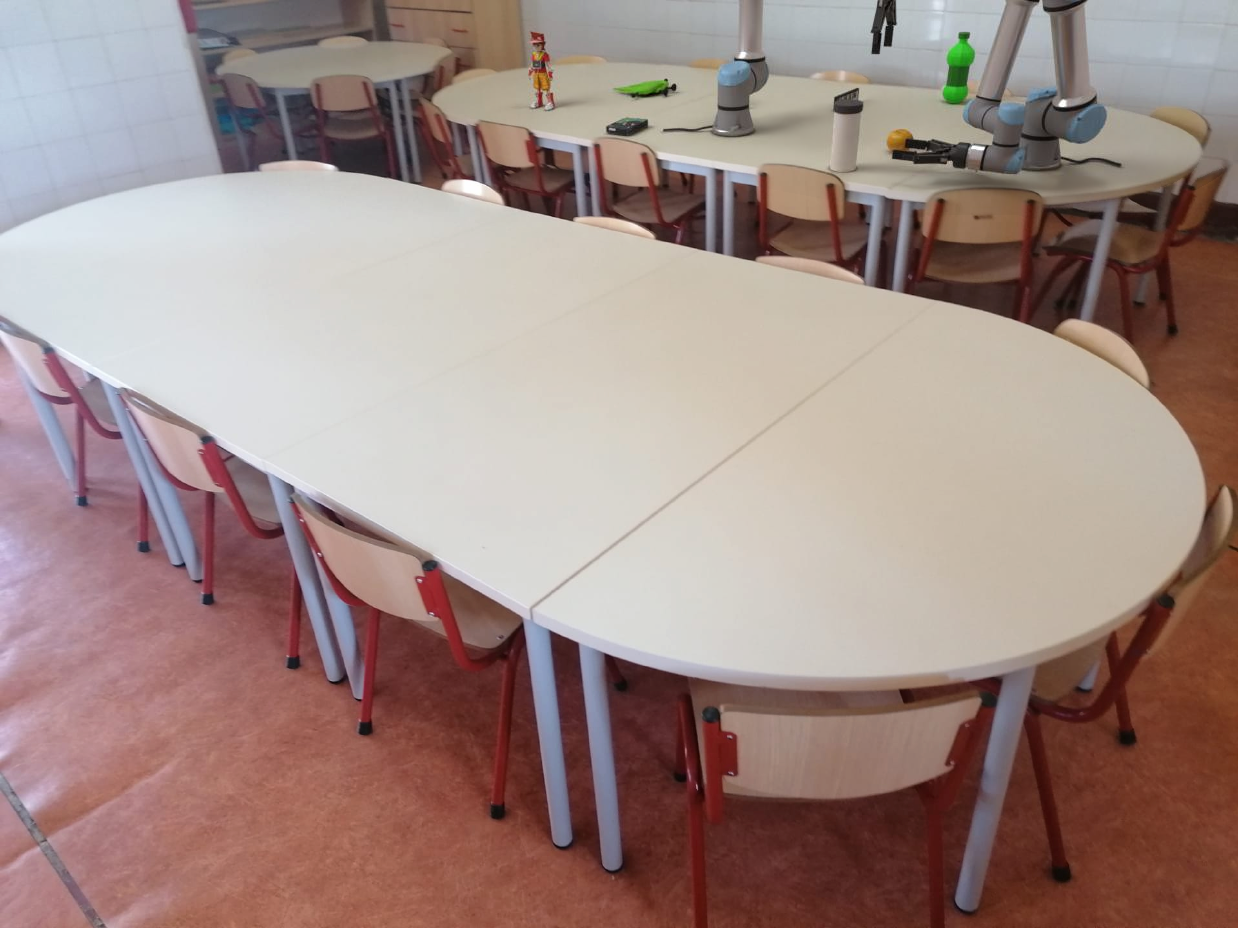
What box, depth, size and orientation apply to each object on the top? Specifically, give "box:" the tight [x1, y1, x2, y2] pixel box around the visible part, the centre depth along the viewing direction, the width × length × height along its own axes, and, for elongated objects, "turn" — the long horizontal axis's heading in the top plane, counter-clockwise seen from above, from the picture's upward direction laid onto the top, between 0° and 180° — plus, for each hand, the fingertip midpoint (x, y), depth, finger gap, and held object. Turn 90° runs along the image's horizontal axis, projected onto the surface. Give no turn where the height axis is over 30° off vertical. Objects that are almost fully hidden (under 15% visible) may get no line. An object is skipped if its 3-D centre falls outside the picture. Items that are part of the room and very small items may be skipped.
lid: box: [833, 99, 864, 114], centre depth 282 cm, size 9×9×2 cm
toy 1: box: [527, 31, 556, 111], centre depth 374 cm, size 12×9×30 cm
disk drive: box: [605, 116, 649, 136], centre depth 345 cm, size 10×3×15 cm
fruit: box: [886, 128, 914, 152], centre depth 303 cm, size 8×8×8 cm
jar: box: [829, 112, 862, 173], centre depth 288 cm, size 8×8×20 cm
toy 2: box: [612, 78, 677, 99], centre depth 396 cm, size 28×5×30 cm
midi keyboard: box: [832, 87, 860, 111], centre depth 357 cm, size 18×1×5 cm, turn 138°
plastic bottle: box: [942, 31, 976, 104], centre depth 348 cm, size 10×10×25 cm
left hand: (881, 50), depth 308 cm, fingers open, 13 cm apart
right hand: (898, 148), depth 280 cm, fingers open, 13 cm apart
